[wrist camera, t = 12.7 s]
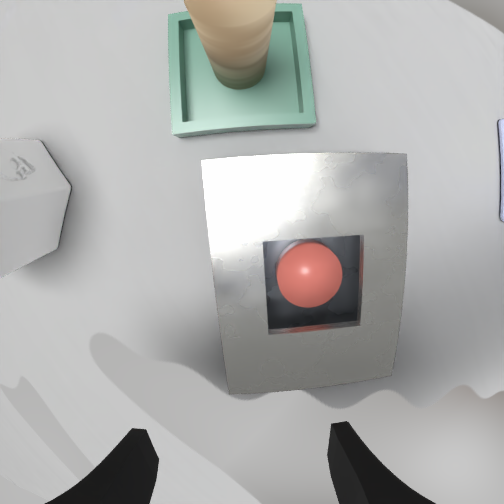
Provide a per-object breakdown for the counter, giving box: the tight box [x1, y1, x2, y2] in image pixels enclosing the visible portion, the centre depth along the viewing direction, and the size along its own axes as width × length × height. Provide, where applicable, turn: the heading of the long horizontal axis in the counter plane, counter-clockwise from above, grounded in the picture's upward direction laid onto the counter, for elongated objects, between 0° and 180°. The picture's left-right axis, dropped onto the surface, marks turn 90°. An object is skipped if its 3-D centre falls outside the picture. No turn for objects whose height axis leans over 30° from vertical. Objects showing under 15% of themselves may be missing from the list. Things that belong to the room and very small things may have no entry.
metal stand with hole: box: [202, 153, 408, 394], centre depth 18 cm, size 10×13×4 cm
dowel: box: [184, 0, 277, 90], centre depth 12 cm, size 3×3×9 cm
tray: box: [168, 3, 316, 138], centre depth 16 cm, size 8×8×2 cm
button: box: [276, 239, 342, 308], centre depth 18 cm, size 4×4×1 cm
